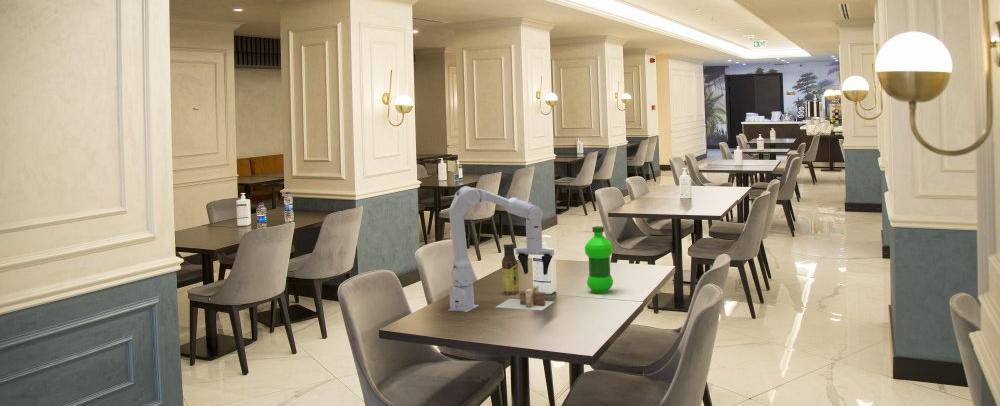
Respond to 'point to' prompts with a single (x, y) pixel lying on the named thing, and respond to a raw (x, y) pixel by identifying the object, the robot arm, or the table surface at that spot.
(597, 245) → the plastic bottle
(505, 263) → the sauce bottle
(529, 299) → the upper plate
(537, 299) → the brown rectangular block
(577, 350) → the table surface
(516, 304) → the base board
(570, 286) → the table surface
